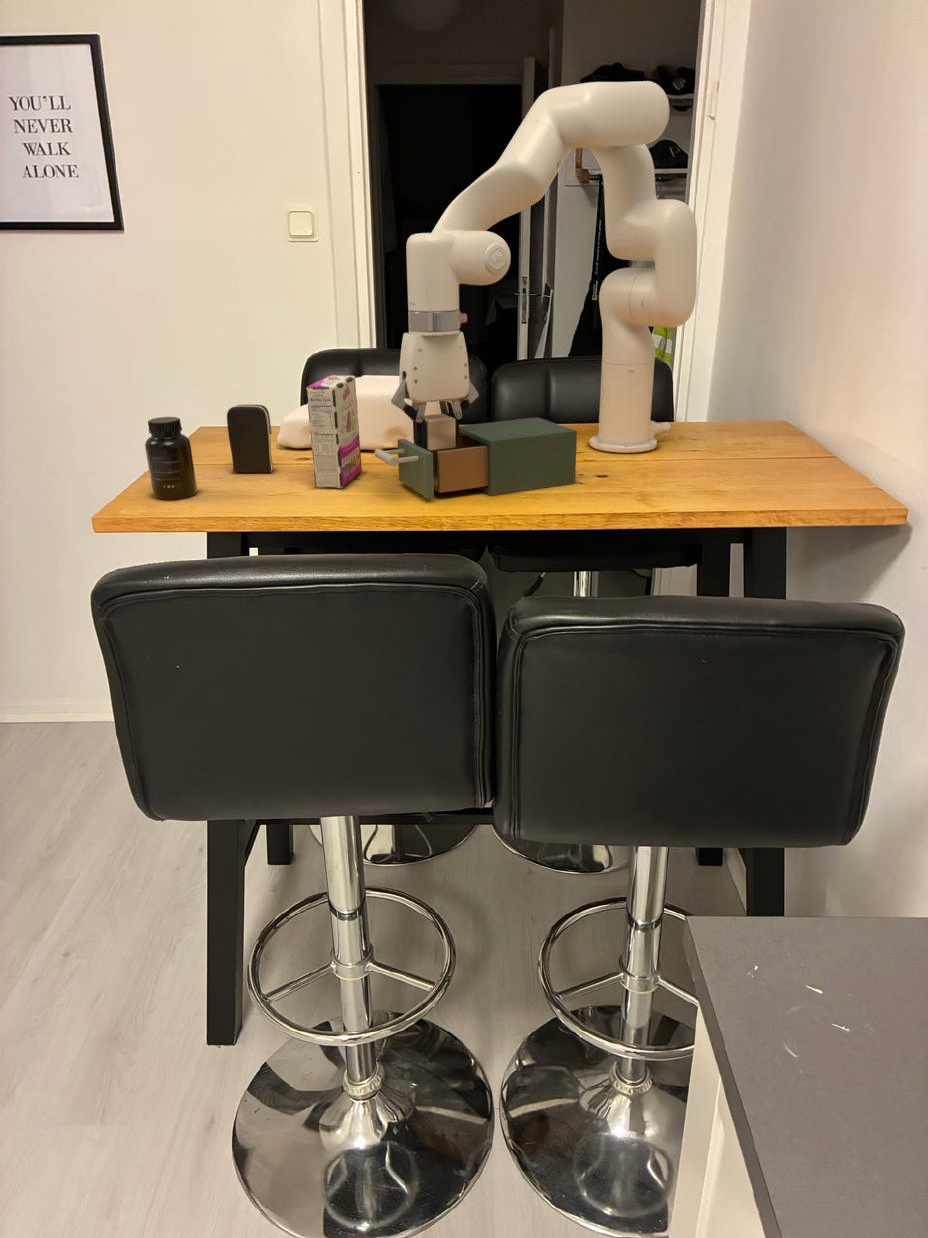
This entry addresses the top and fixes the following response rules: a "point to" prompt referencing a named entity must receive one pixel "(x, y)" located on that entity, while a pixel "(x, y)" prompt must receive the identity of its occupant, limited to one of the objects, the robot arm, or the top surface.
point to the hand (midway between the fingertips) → (436, 443)
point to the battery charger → (250, 438)
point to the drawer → (440, 466)
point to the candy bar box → (334, 431)
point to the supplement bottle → (170, 460)
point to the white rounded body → (362, 417)
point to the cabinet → (526, 454)
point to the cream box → (440, 432)
